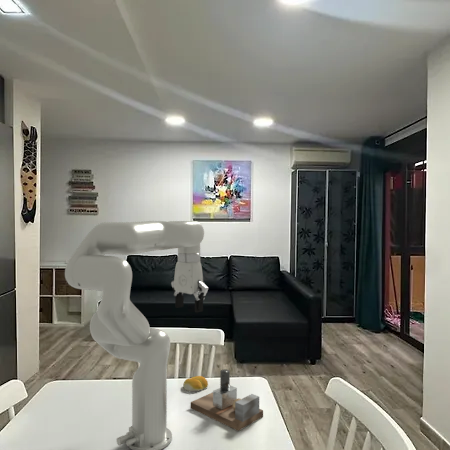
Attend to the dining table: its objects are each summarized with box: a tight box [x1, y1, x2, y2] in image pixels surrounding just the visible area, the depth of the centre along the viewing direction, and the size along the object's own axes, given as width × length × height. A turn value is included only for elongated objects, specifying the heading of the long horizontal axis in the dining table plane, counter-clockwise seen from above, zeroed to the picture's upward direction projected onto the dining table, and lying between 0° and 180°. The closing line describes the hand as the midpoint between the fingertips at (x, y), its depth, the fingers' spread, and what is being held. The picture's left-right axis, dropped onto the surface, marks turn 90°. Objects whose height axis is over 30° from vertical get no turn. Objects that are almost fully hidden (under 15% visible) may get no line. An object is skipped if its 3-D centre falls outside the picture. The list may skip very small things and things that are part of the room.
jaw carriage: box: [212, 368, 238, 410], centre depth 130 cm, size 7×4×11 cm, turn 137°
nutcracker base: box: [190, 391, 264, 432], centre depth 129 cm, size 12×21×7 cm, turn 47°
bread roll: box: [183, 375, 209, 393], centre depth 149 cm, size 8×9×4 cm
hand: (188, 309), depth 134 cm, fingers open, 9 cm apart
